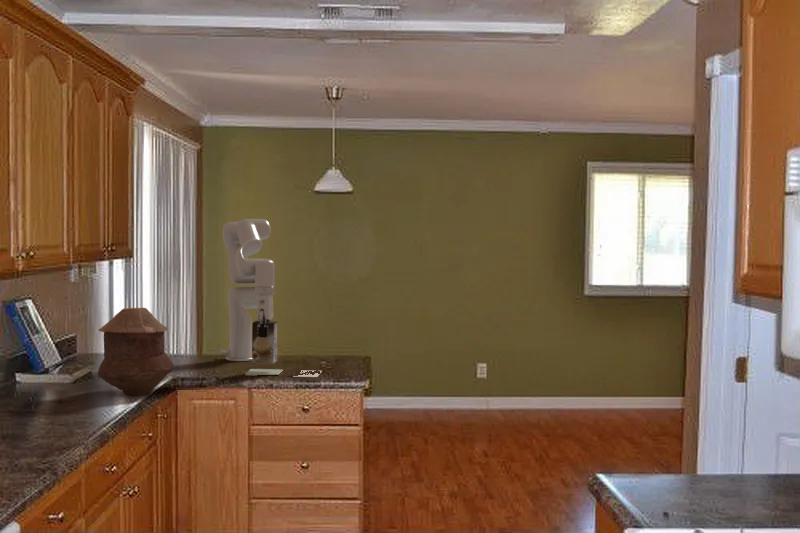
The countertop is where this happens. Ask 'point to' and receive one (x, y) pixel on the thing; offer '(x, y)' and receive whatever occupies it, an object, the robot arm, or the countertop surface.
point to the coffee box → (264, 343)
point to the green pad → (264, 372)
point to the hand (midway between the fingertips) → (264, 335)
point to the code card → (308, 374)
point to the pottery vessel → (134, 352)
